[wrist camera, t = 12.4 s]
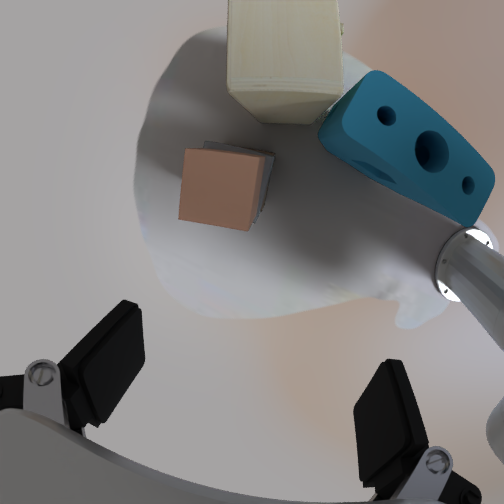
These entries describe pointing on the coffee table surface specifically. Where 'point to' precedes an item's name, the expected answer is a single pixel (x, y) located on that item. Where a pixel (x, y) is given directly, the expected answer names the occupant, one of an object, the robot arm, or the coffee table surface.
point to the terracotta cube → (220, 187)
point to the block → (408, 148)
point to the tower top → (268, 159)
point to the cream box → (284, 58)
